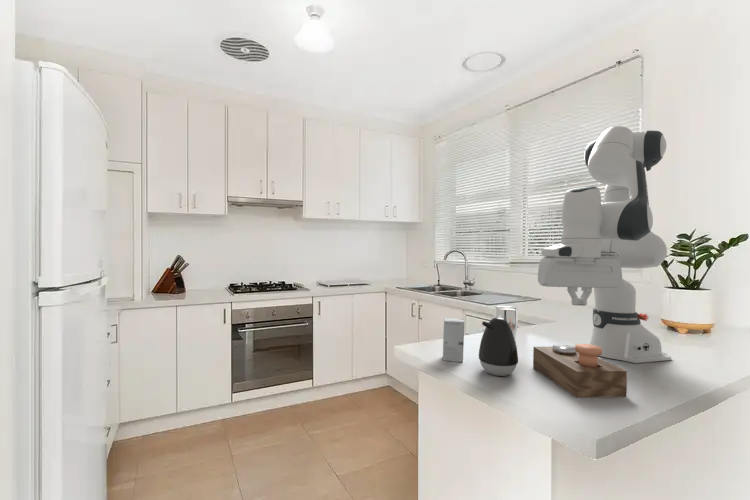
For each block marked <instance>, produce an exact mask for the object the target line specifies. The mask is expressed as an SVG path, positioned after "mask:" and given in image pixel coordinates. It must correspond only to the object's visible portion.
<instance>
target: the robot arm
mask: <svg viewBox="0 0 750 500" xmlns="http://www.w3.org/2000/svg"><path fill="white" fill-rule="evenodd" d="M666 150H667V140H666V138H665V136H664V133H662V131H660V130H646V131H639V132H633V131H632V130H631V129H630V128H628V127H626V126H623V125H622V126H621V125H616V126H611V127H609V128H607V129H606V130H605V129H604V131H603V132H602V133H601V134H600V136H599V137H598V138H597V139H595V140H592V141H590V142H589V143H588V144H587V145H586V147H585V150H584V153H583V154H584V156H583V157H584V163H585V165H586V167H587V169H588V174H590V176H591V178H593V179H594V180H595V181H597V182H598V183H600V184H603V185H605V188H604V193H603V199H602V194H601V190H600V188H599V187H597V186H585V187H573V188H570V189H567V190H566V192H565V194H564V198H563V203H562V209H561V210H562V211H561V225H562V229H563V230H562V234H561V240H560V241H561V243H557V244H554V245H551V246H548V247H544V248H542V249H541V256H542V258H541V259H540V261H539V263H538V269H537V270H538V271H537V282H538V283H539V285H540V286H542V287H548V288H549V287H551V288H553V287H554V288H566V290H567V293H568V295H569V296H570V298H571V305H572V306H582V307H585V306H587V305H588V299H589V297H591V294H592V293H593V294H594V296H593V297H594V308H593V309H592V324H593V327H592V335H591V338H590V343H589V344H590V345H595V346H598V347H601V348H602V354H601V355H598V357H603V358H608V359H611V360H612V359H613V360H620V361H623V362H624V361H625V362H627V363H628V362H629V363H631V364H641V363H652V362H653V363H654V362H661V361H662V362H663V361H671V360H672V357H671V355H670V354H669V353H665V352H664V351H663V350H662V343H661V340H660V338H659V337H658V336H657V335H656V334H655V333H653V332H652V331H650V330H649V329H648V328H646V327H645V326H644V325H643V324H641V320H642V321H646V322H647V321H648V320H649V315H647V314H646V313H638V312H637V311H636V305H637V303H636V301H637V298H636V297H637V295H636V294H637V290H636V288H635V286H634V285H633V284H632V283H631V282H629V281H628V280H626V279H624V278H623V271H622V269H637V270H639V269H640V270H641V269H649V268H650V269H651V268H657V267H659V266H660V265H662V263H663V262H664V261H665V260H666V258H667V254H668V248H667V245H666V243H665V241H664V240H663V239H662V238H661V237H660V236H659V235H657V234H655V233H654V232H652V228H653V225H654V217H653V213H652V209H651V207H650V203H649V202H650V201H649V192H648V183H647V182H648V181H647V175H646V171H647V172H648V171H651V169H652V168H653V167H654V166H656V165H658V164H659V163H660V161H662V159H663V157H664V155H665V153H666ZM578 288H580V289H581V292H582V294H581V296H579V297H578V295H577V292H578Z"/></svg>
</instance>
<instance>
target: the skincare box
mask: <svg viewBox="0 0 750 500" xmlns="http://www.w3.org/2000/svg"><path fill="white" fill-rule="evenodd" d="M464 339H465V320H464V319H462V318H449V317H444V318H443V337H442V361H446V362H447V361H448V362H458V363H459V362H461V363H462V362H464V346H465V345H464V342H465V340H464Z"/></svg>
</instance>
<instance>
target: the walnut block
mask: <svg viewBox="0 0 750 500" xmlns="http://www.w3.org/2000/svg"><path fill="white" fill-rule="evenodd" d="M571 346H572V345H571ZM572 347H574V348H575V345H574V346H572ZM532 357H533V361H532V364H533V366H532V367H533V369H534V370H535V371H537V372H539V373H540V374H542V375H543V376H545V377H546V378H548V379H549V380H550V381H552V382H553V383H555V384H556V385H557V386H559V387H561V388H562V389H564V390H565V391H566V392H567V393H570V394H571V395H572V396H574V397H575V398H618V397H619V398H621V397H622V398H625V397H627V390H628V389H627V385H628V382H627V381H628V370H626V369H623V368H621V367H619V366H618V365H615V364H612V363H610V362H608V361H606V360H604V359H602V358H600V357H598V367H583V366H582V365H580V364H579V352H576V354H575V355H564V354H559V353H556V352H554V351H553V346H533V353H532Z"/></svg>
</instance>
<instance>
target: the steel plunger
mask: <svg viewBox="0 0 750 500" xmlns="http://www.w3.org/2000/svg"><path fill="white" fill-rule="evenodd" d="M552 347H553V351H554V352H556V353H559V354H564V355H575V354H576V351H575V348H574V347H575V346H574V347H572V345H567V344H566V345H565V344H553V345H552Z"/></svg>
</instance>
